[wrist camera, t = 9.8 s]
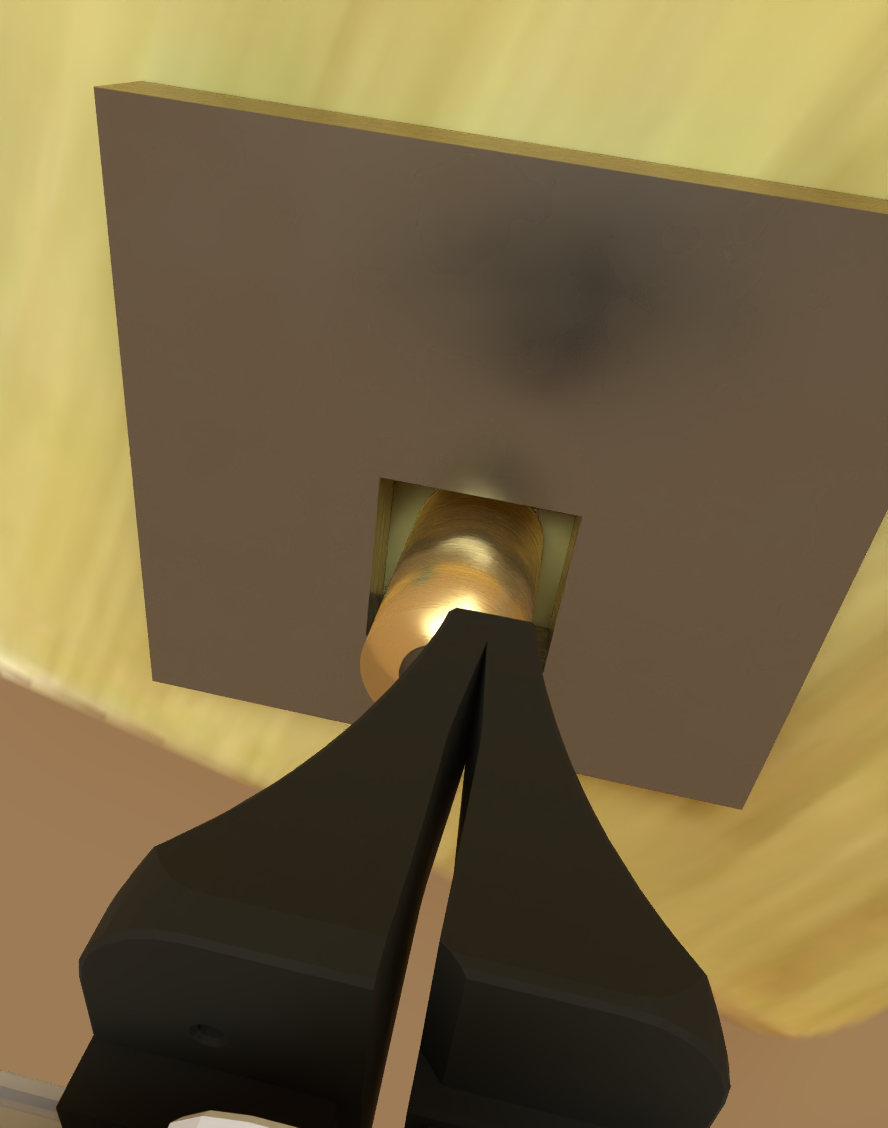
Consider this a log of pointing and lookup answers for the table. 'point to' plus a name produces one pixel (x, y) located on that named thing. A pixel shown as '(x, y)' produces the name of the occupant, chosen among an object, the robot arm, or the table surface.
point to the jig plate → (495, 408)
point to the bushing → (453, 577)
